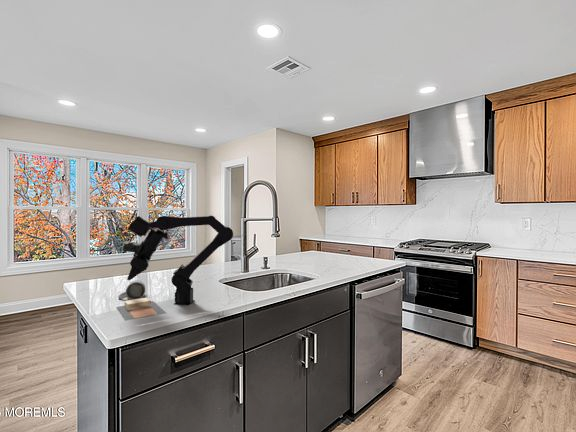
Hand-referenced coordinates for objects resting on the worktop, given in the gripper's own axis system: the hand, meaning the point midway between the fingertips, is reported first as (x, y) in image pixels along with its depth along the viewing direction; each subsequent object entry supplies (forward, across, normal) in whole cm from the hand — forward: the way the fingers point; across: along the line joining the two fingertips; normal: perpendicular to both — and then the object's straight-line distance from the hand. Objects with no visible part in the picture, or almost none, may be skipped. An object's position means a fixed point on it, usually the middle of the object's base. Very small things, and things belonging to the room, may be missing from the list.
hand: (129, 276), depth 126 cm
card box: (+8, +5, +9) cm, 13 cm away
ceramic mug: (+11, -10, +7) cm, 17 cm away
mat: (+7, +9, +10) cm, 15 cm away
